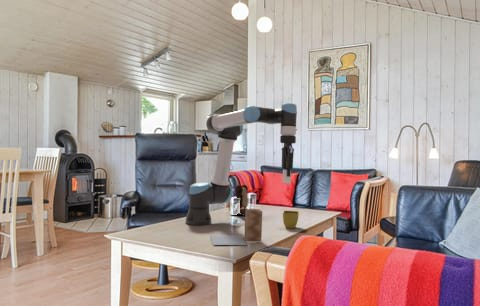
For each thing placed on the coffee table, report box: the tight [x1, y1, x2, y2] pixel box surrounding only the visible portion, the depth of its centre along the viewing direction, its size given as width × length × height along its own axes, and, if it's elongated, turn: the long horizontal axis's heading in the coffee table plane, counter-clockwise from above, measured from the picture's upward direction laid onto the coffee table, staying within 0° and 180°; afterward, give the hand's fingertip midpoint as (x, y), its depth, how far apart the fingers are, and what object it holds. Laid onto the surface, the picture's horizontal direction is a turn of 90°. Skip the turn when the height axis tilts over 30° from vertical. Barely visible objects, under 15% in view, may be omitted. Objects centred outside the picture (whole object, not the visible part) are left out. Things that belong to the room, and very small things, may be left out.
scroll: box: [235, 184, 249, 215], centre depth 258 cm, size 15×15×20 cm
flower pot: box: [282, 210, 300, 229], centre depth 221 cm, size 9×9×9 cm
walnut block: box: [243, 208, 263, 243], centre depth 186 cm, size 7×7×15 cm
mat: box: [209, 234, 248, 246], centre depth 184 cm, size 16×18×1 cm
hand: (286, 182), depth 188 cm, fingers open, 3 cm apart
